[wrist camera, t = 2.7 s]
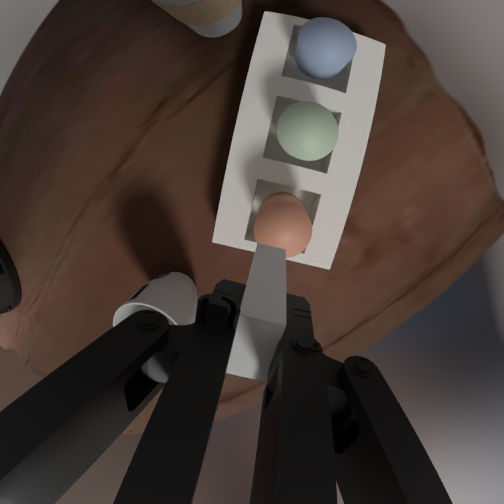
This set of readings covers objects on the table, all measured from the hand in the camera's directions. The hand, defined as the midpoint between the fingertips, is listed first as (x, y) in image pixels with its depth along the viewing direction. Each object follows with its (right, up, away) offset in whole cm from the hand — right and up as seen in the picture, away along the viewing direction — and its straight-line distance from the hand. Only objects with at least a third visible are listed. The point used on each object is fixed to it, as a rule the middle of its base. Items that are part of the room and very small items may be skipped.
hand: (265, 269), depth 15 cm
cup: (-10, -4, +20) cm, 22 cm away
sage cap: (+4, +12, +9) cm, 15 cm away
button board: (+4, +13, +12) cm, 18 cm away
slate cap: (+6, +19, +6) cm, 20 cm away
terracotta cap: (+2, +4, +11) cm, 12 cm away
